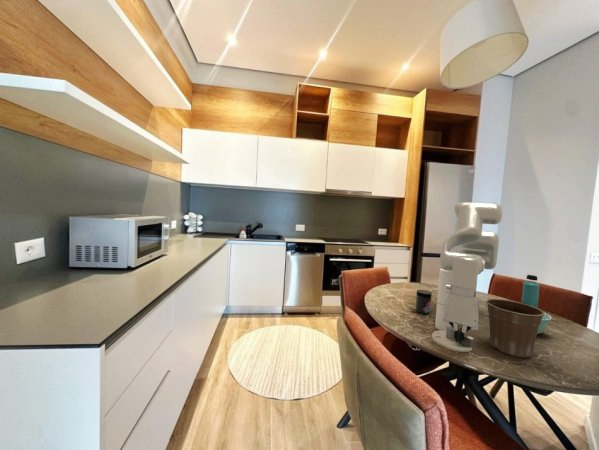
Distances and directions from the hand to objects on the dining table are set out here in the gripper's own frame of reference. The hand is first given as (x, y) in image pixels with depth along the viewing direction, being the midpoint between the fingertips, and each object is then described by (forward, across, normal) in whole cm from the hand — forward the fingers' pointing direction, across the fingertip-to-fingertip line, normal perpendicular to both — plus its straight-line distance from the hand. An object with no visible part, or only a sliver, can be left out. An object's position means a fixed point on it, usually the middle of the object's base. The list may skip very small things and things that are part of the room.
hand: (458, 341), depth 90 cm
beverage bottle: (+3, +31, +66) cm, 73 cm away
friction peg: (+1, 0, +3) cm, 4 cm away
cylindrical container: (+3, -5, +18) cm, 19 cm away
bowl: (+3, +24, +39) cm, 46 cm away
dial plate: (+3, -2, +5) cm, 6 cm away
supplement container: (+3, -15, +30) cm, 34 cm away
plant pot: (+3, +16, +14) cm, 21 cm away
